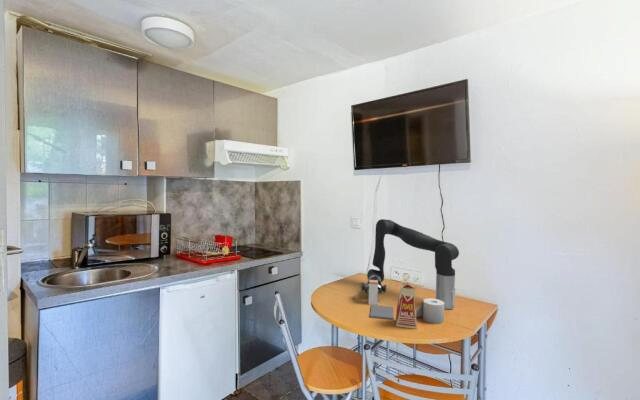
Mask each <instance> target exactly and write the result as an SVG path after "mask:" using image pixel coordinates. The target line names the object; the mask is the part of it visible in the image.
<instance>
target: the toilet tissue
mask: <svg viewBox="0 0 640 400" xmlns="http://www.w3.org/2000/svg"><path fill="white" fill-rule="evenodd" d="M422 301H423V302H422V303H421V304H420V305H419V307H417V309H415V313H416V318H419V317H422V319H423V321H424V322H427V323H430V324H436V325H437V324H442V323H444V322H445V309H444V304H445V303H444V302H443V301H441V300H438V299H435V298H429V297H428V298H424V299H423V300H422Z"/></svg>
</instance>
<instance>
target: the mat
mask: <svg viewBox="0 0 640 400" xmlns="http://www.w3.org/2000/svg"><path fill="white" fill-rule="evenodd" d="M394 315H395V314H394V306H389V305H379V304H377V305H371V308H370V313H369V318H373V319H374V318H375V319H380V320H381V319H383V320H391V321H392V320H393V321H394V319H395V318H394Z"/></svg>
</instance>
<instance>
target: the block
mask: <svg viewBox="0 0 640 400" xmlns="http://www.w3.org/2000/svg"><path fill="white" fill-rule="evenodd" d="M378 295H379V292H378V280H369V291H368V305H371V306H372V305H378V301H379V300H378Z"/></svg>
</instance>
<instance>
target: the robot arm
mask: <svg viewBox="0 0 640 400" xmlns="http://www.w3.org/2000/svg"><path fill="white" fill-rule="evenodd" d="M386 235H391V236H394V237H396V238H399V239H400V240H401V241H402V242H404V243H405V244H406V245H409V246H411V247H413V248H416V249H418V250H424V251H429V252H433V253H434V267H435V270H436V271H435V272H436V276H435V298H434V299H438V300H441V301H443V302H444V303H445V304H444V310H454V309H455V306H456V287H455V286H456V285H455V282H456V270H455V268H453V266H452V265H453V264H452V262H453V261H454V260H456V259H457V258H458V257H459V255H460V251H459V249H458V247H457V246H456V245H455V244H453V243H451V242H447V241H444V240H443V241H442V240H440V239H437V238H434V237H432V236H430V235H427V234H425V233H423V232H420V231H418V230H415V229H412V228H409V227H405V226H403V225H400V224H399V223H396V222H395V221H393V220H391V219H386V218H385V219H384V218H383V219H382V218H381V219H379V220H378V221H377V222H376V223H375V239H374V240H375V241H374V252H373V257H372V266H374V267H375V268H378V269H373V268H370V269H369V270H368V271H367V275H366V277H367V280H368V281H367V283H364V282H361V291H363V292H365V294H367V293H369V280H378V295H381V294H382V293H386V291H387V284H384V285H382V283H383V282H384V280H385V270H384V266H385V261H386V260H385V259H386V249H385V236H386Z"/></svg>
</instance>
